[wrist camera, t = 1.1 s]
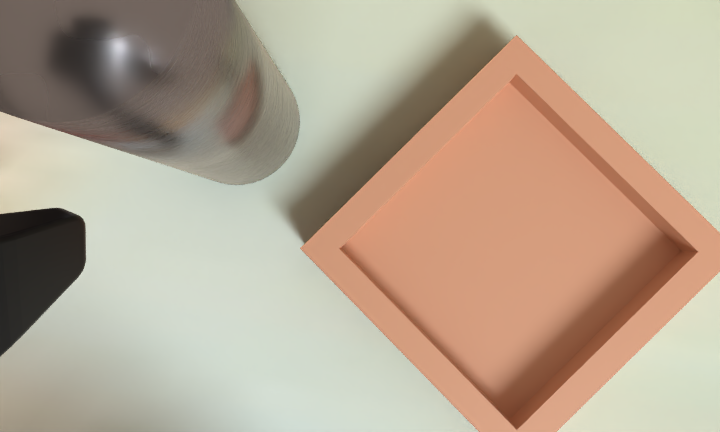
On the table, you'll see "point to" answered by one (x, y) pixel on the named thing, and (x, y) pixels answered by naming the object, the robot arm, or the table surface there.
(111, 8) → the canister
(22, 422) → the table surface
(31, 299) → the robot arm
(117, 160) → the table surface
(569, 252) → the tray
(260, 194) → the table surface
